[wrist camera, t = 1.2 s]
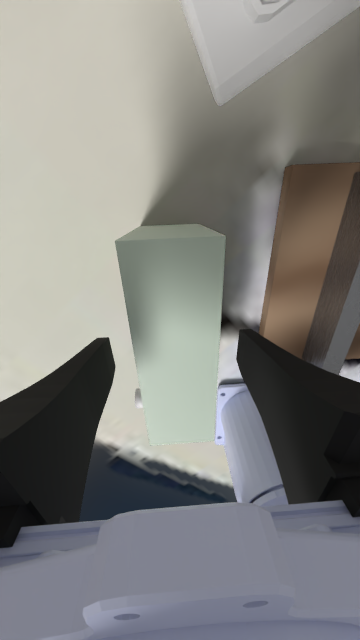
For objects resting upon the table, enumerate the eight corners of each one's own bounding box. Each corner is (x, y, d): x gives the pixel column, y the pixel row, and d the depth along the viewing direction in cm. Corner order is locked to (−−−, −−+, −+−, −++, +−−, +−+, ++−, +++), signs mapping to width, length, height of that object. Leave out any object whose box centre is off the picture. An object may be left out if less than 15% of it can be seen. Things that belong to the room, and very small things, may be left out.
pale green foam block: (198, 223, 15) (225, 235, 8) (197, 360, 20) (213, 441, 13) (128, 226, 15) (92, 242, 8) (147, 363, 20) (136, 446, 13)
